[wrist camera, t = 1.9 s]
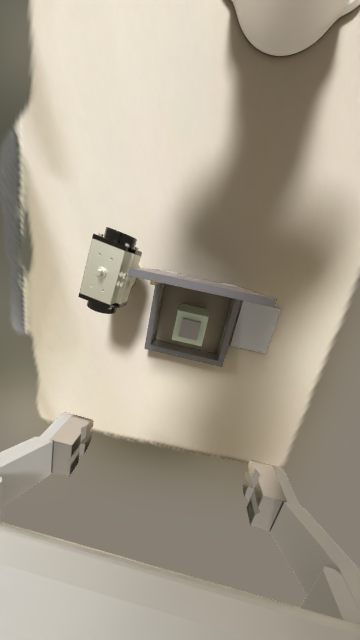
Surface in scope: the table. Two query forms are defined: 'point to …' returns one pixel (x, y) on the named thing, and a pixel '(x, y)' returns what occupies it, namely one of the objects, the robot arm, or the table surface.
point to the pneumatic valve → (109, 271)
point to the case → (200, 285)
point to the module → (190, 324)
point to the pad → (255, 327)
